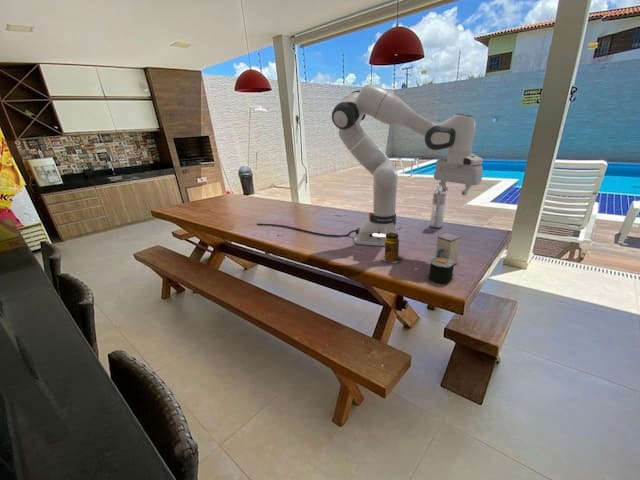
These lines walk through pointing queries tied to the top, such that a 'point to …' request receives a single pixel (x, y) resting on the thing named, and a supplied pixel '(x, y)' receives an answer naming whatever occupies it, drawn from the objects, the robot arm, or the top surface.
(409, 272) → the top surface
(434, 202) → the water bottle
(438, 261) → the sushi
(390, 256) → the condiment
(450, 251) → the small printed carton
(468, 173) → the robot arm
